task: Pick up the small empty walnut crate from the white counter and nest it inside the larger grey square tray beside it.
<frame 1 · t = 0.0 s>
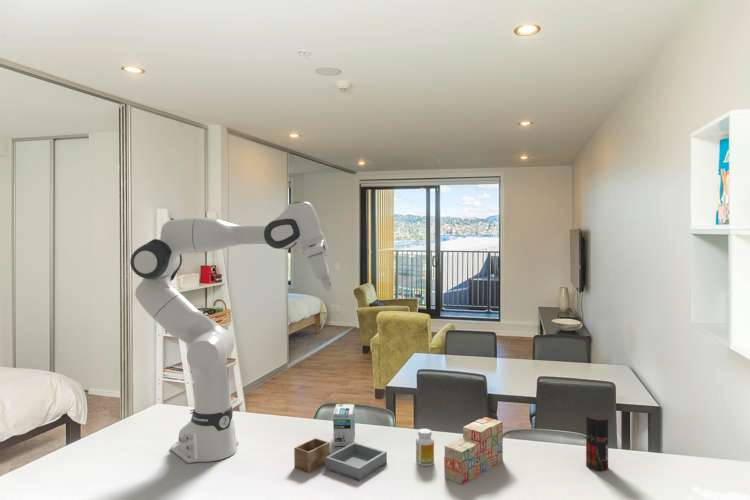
hand: (328, 289, 160), 52 cm above the kitchen counter, tool tilted 20°, fingers open, 8 cm apart
grey square tray: (356, 466, 147), on the kitchen counter
supplement bottle: (425, 463, 149), on the kitchen counter
stack of blocks: (474, 469, 145), on the kitchen counter
light bulb box: (344, 440, 167), on the kitchen counter
deodorant: (597, 467, 146), on the kitchen counter
small crate: (312, 464, 148), on the kitchen counter
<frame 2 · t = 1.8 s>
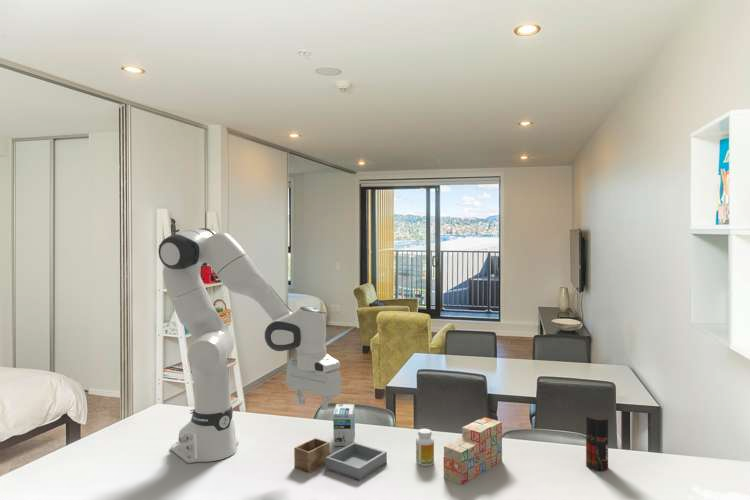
hand: (312, 406, 148), 18 cm above the kitchen counter, tool pointing down, fingers open, 8 cm apart
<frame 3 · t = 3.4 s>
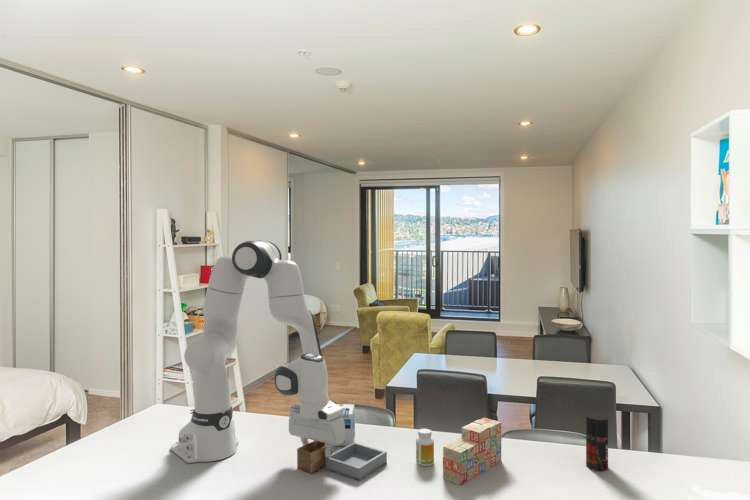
hand: (317, 453, 148), 3 cm above the kitchen counter, tool pointing down, fingers closed on small crate, 6 cm apart
small crate: (315, 465, 148), on the kitchen counter, touching gripper
everything else where it was.
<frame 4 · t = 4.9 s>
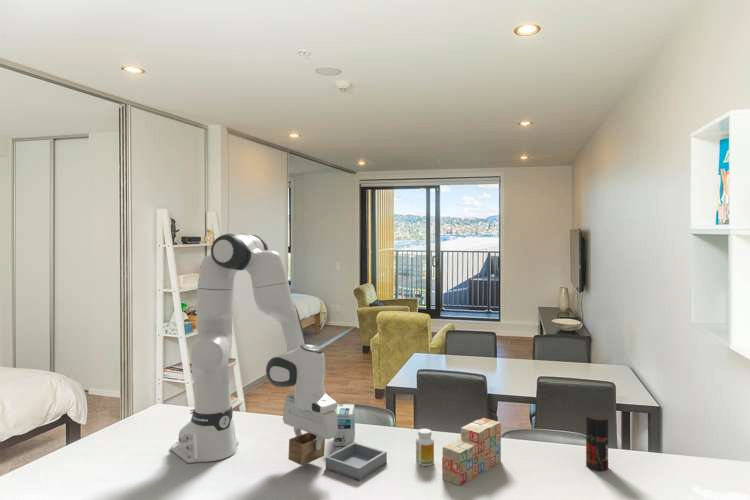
hand: (308, 445, 148), 6 cm above the kitchen counter, tool pointing down, fingers closed on small crate, 6 cm apart
small crate: (306, 457, 147), point 3 cm above the kitchen counter, touching gripper
everything else where it was.
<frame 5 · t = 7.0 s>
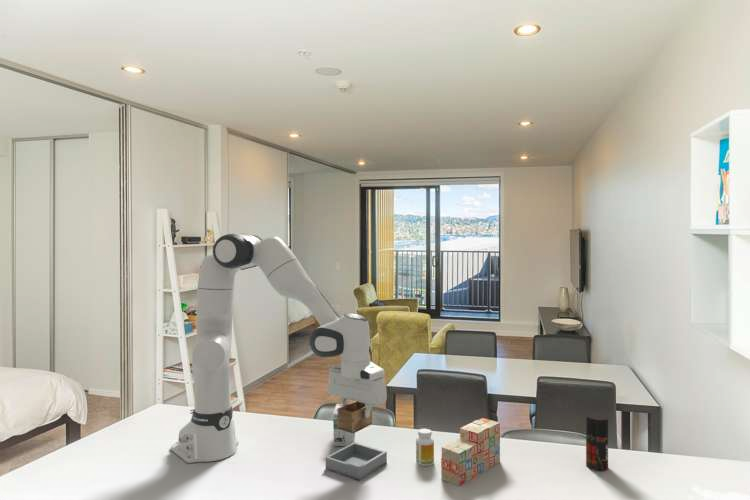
hand: (356, 414, 147), 16 cm above the kitchen counter, tool pointing down, fingers closed on small crate, 6 cm apart
small crate: (354, 426, 147), point 12 cm above the kitchen counter, touching gripper
when the fingers open (5 cm above the kitchen counter, at t = 9.3 s): small crate stays where it is, resting on grey square tray.
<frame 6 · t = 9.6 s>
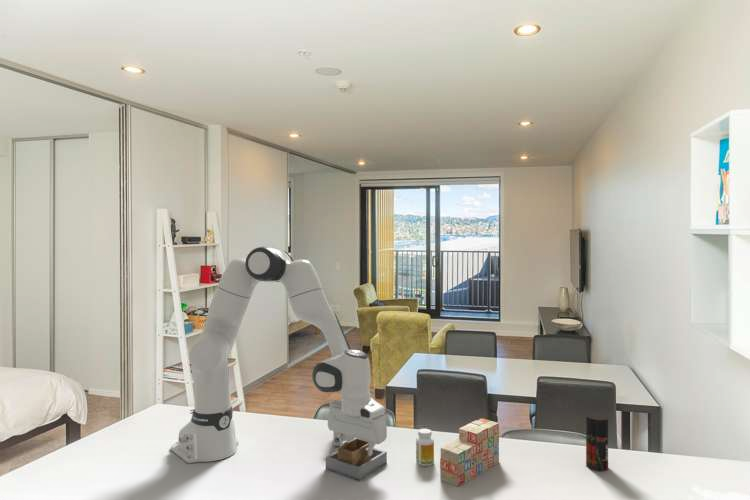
hand: (356, 450, 147), 5 cm above the kitchen counter, tool pointing down, fingers open, 8 cm apart
small crate: (355, 464, 147), point 1 cm above the kitchen counter, touching grey square tray
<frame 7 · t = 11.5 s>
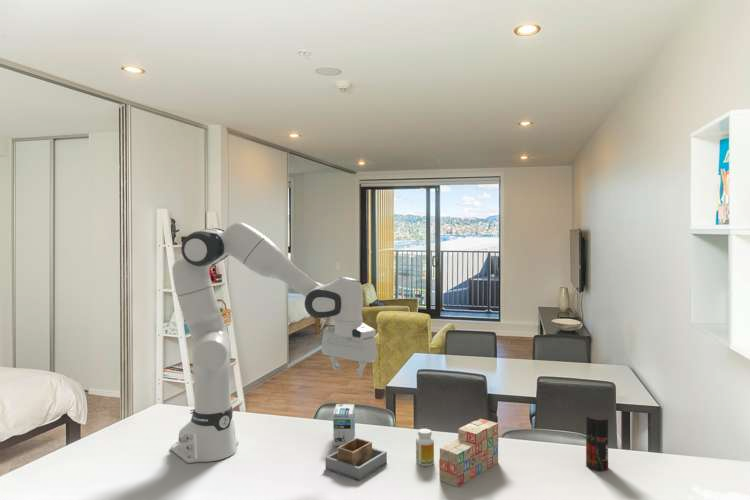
hand: (347, 372, 155), 26 cm above the kitchen counter, tool pointing down, fingers open, 8 cm apart
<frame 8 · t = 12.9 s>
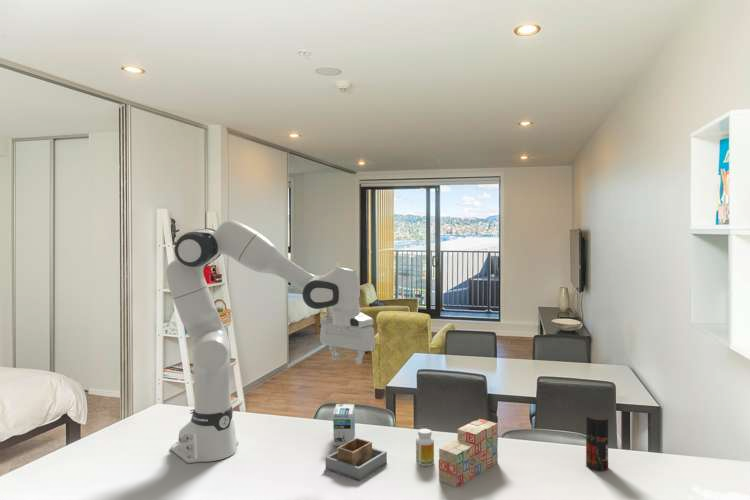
hand: (346, 361, 157), 29 cm above the kitchen counter, tool pointing down, fingers open, 8 cm apart
at the end: small crate 0.6 cm off-centre on the grey square tray, point 0.6 cm above the grey square tray's base; small crate tilted 0°; the gripper is holding nothing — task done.
